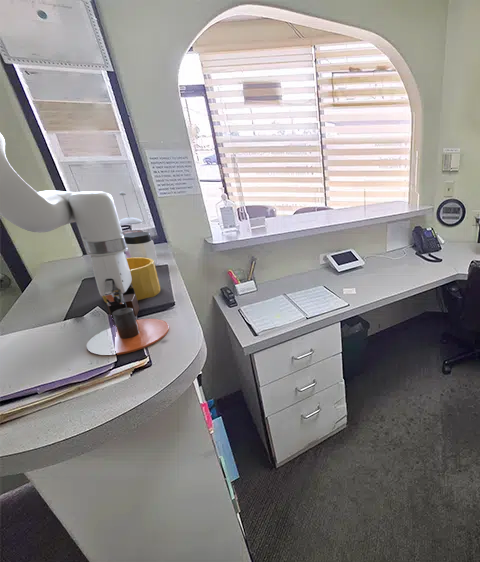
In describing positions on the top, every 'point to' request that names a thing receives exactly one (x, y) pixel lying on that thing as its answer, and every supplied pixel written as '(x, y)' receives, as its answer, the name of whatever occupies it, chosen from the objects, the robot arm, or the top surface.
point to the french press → (129, 221)
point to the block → (130, 303)
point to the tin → (142, 277)
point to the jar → (140, 246)
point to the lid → (136, 331)
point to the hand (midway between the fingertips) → (125, 309)
